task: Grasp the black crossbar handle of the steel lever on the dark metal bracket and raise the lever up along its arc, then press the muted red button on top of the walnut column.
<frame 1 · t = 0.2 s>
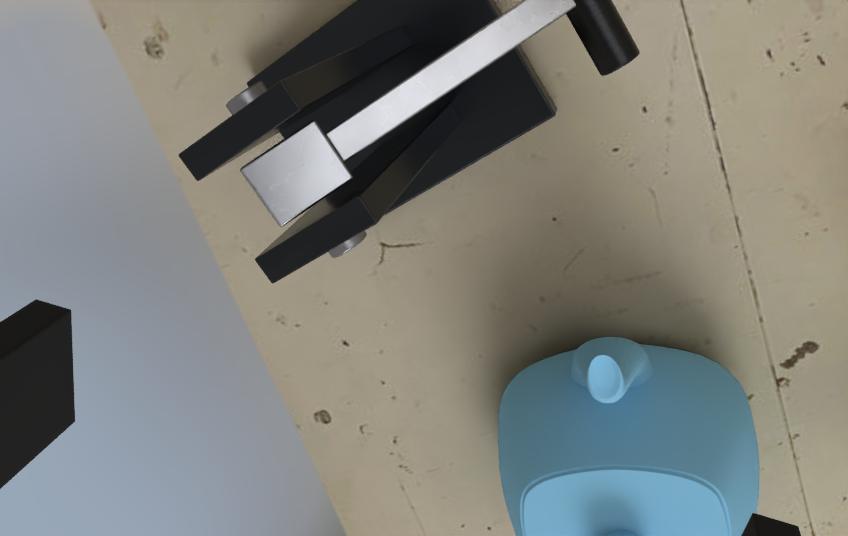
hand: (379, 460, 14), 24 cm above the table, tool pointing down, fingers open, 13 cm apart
teapot: (621, 404, 41), on the table
lever: (429, 84, 25), point 11 cm above the table, hinge at -25.0°
bracket: (401, 93, 36), on the table
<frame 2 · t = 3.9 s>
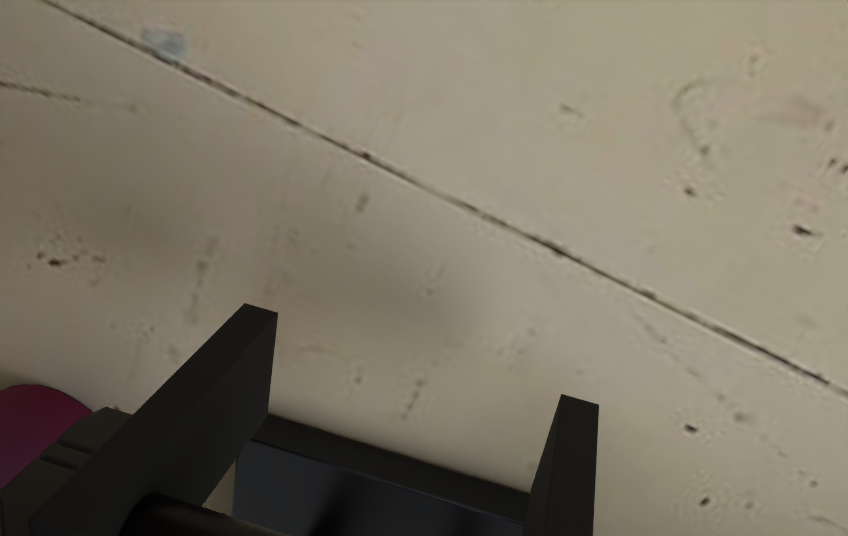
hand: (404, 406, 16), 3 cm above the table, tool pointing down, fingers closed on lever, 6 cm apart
cup: (58, 448, 24), on the table
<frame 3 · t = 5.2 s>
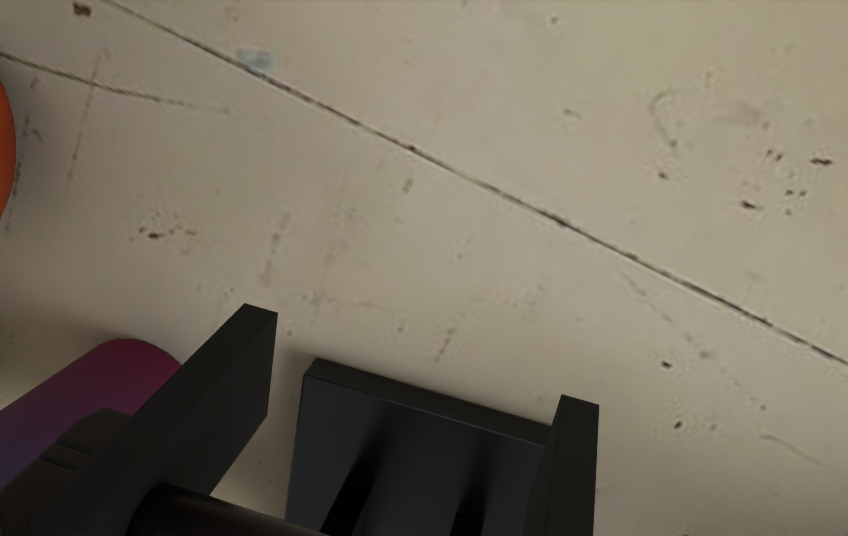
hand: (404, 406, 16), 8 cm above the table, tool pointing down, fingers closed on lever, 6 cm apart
bracket: (411, 524, 28), on the table
cup: (145, 393, 29), on the table
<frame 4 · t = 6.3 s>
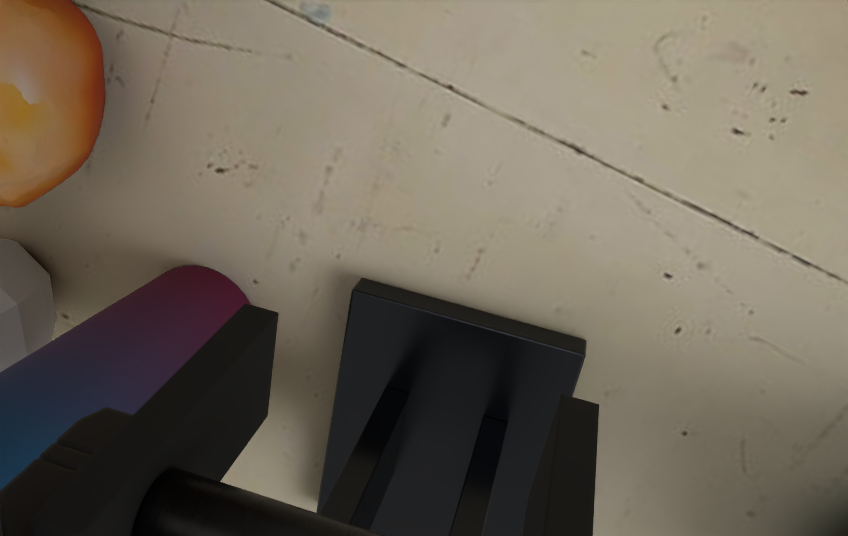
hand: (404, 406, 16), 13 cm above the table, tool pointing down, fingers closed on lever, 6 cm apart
bracket: (442, 430, 32), on the table
fruit: (53, 70, 29), on the table
cup: (205, 316, 32), on the table
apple: (21, 281, 34), on the table
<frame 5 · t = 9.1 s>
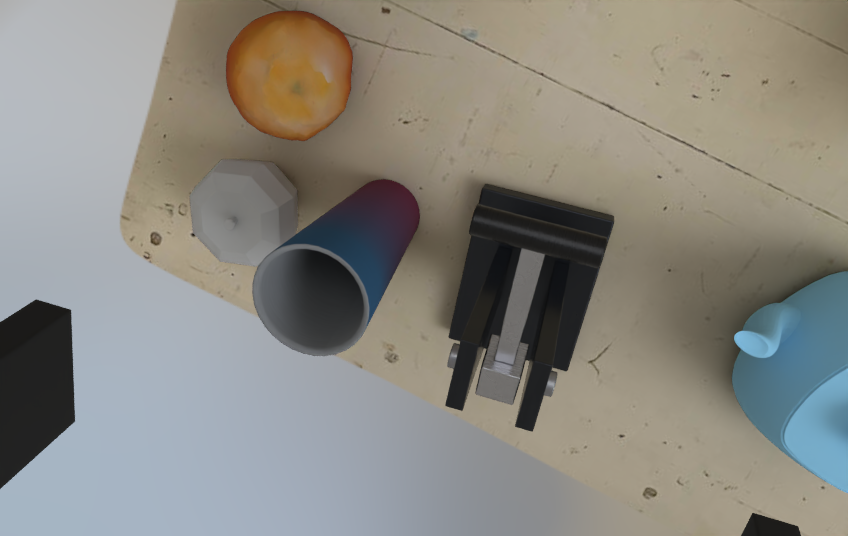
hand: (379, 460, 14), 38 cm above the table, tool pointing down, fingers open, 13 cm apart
teapot: (821, 340, 51), on the table
lever: (516, 314, 38), point 15 cm above the table, hinge at 23.8°
bracket: (528, 276, 54), on the table
fruit: (310, 66, 52), on the table
cup: (387, 211, 55), on the table
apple: (270, 193, 56), on the table
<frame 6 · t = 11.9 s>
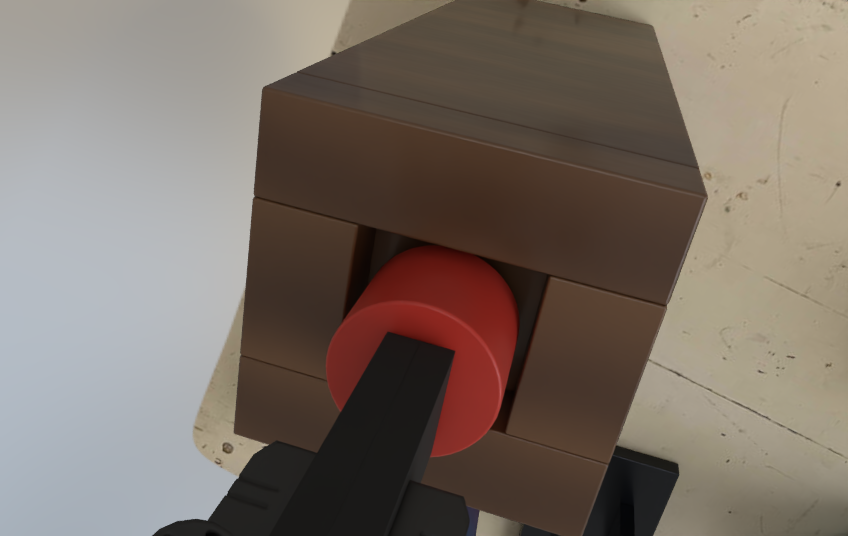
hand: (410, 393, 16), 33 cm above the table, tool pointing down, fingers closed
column: (544, 93, 45), on the table
button: (427, 347, 18), point 31 cm above the table, slide at 0.0 cm, touching gripper
bracket: (592, 507, 57), on the table
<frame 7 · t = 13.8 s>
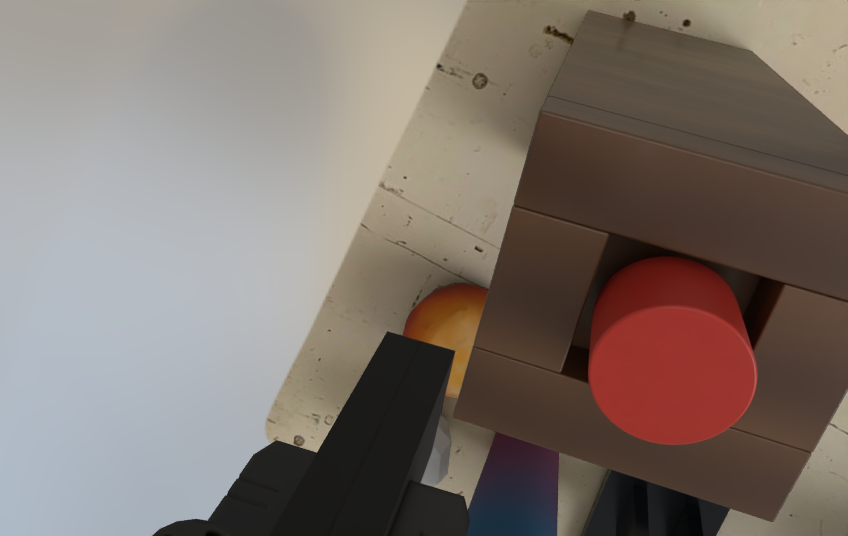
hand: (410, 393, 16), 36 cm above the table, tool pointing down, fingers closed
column: (641, 110, 48), on the table
button: (667, 347, 20), point 31 cm above the table, slide at 0.2 cm
bracket: (656, 507, 59), on the table
fruit: (468, 318, 56), on the table
cup: (527, 441, 60), on the table
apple: (416, 415, 61), on the table
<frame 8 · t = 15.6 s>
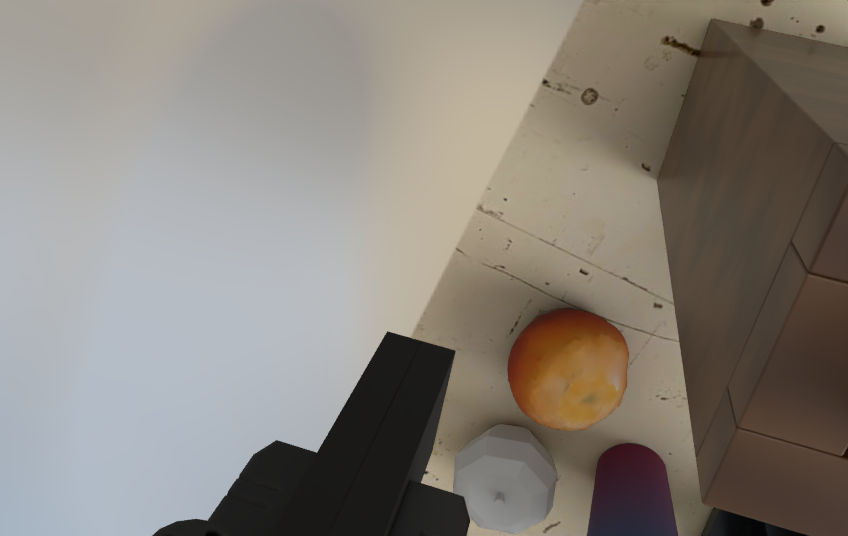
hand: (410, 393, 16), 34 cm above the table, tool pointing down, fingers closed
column: (767, 123, 45), on the table
bracket: (770, 535, 56), on the table
fruit: (571, 343, 54), on the table
cup: (631, 469, 57), on the table
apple: (511, 444, 58), on the table
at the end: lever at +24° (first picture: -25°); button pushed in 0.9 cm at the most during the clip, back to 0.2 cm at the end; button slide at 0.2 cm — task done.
